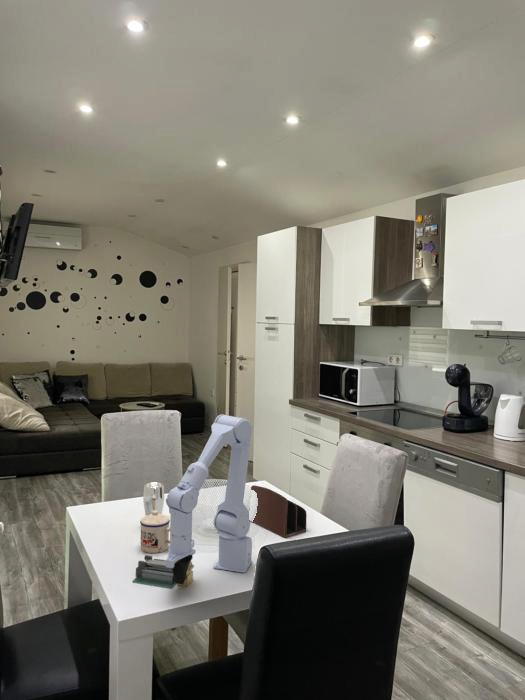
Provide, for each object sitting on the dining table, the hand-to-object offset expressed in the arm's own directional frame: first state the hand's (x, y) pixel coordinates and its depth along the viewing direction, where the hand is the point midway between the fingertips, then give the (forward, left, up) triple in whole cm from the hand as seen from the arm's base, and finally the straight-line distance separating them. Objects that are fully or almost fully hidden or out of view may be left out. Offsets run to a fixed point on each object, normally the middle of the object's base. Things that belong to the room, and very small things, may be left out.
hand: (179, 583), depth 148 cm
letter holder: (-14, -52, -2) cm, 54 cm away
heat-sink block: (+7, -5, -1) cm, 9 cm away
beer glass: (+25, -37, -2) cm, 45 cm away
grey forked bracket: (+12, -5, -1) cm, 13 cm away
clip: (0, -4, -1) cm, 4 cm away
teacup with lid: (+16, -22, -2) cm, 27 cm away
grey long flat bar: (+6, -5, +2) cm, 8 cm away
